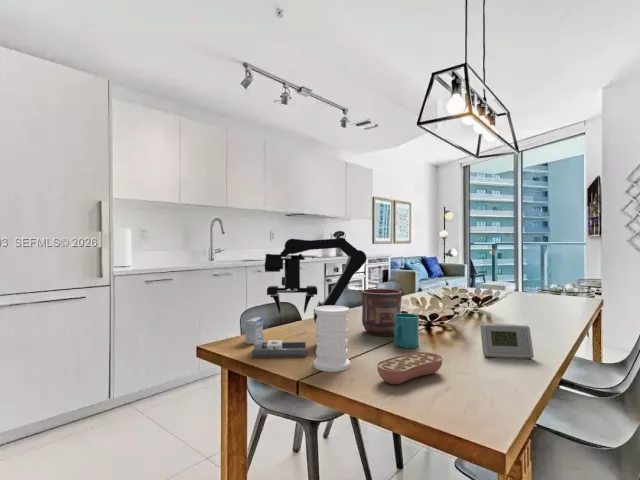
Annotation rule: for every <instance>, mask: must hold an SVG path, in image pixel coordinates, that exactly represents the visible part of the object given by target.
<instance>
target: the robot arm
mask: <svg viewBox="0 0 640 480" xmlns="http://www.w3.org/2000/svg"><path fill="white" fill-rule="evenodd" d="M329 249H340V250H341V251H342V252H343V253H344V254H345V255H347V257H348V258H347V259H346V260H347V261H346V263H345V267H344V269H343V271H342V273H341V274H340V276H339V277H338V279H337V280H336V282H335V284H334V285H333V287H332V289H331V290H330V292H329V294H328V295H327V297H326V298H325V300H324V301H322V302H321V301H318V302H317V305H316V307H319V306H328V305H334V306H336V304H337V302H338V301H339V299H340V297H341V296H342V294H343V292H344V291H345V289H346V288H347V286H348V284H349V282H350V281H351V279H352V278H353V276H354V275H355V273H357V272H358V271H359V270H360V269H361V268H362V266H364V265H365V263H366V262H367V260H368V259H367V254H366V252H364V251H363V250H359V249H357V248H356V247H354V246H353V245H352V244H351V243H350V242H348V241H347V239H346V238H344V237H337V238H325V239H324V238H323V239H313V240H312V239H311V240H308V239H299V238H297V239H296V238H289V239H287V240H286V241H285V243H284V249H283V250H281V251H280V253H278V254H277V253H276V254H275V253H274V254H273V253H272V254H271V253H265V258H264V261H265V262H264V272H265V273H279V272H281V270H283V269H284V276H282V277H281V286H283V287H279V286H278V285H269V286H268V287H267V288H266V296H270V298H272V299H273V301H274V303H275V304H276V307H277V310H278V313H279V314H281V309H282V308H281V300H280V299H281V298H280V294H282V293H283V294H287V293H288V294H291V293H295V294H296V293H299V294H300V293H302V294H304V293H305V297H304V305H303V313H304V314H305V313H306V312H307V308H308V306H309V303H310V300H311V299H312V298H314V297H315V296H316V295H318V287H317V286H316V285H306V287H301V261H304V260H305V257H304V256H303V255H302V253H304V252H306V251H310V250H313V251H314V250H329ZM298 253H299V254H298ZM295 254H296V255H295ZM297 254H298V255H297ZM289 255H290V257H288V256H289ZM285 257H286V258H285ZM316 319H317V314H316V313H315V308H314V309H313V320H314V321H313V322H314V323H315V324H316Z"/></svg>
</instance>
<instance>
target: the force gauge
mask: <svg viewBox="0 0 640 480" xmlns="http://www.w3.org/2000/svg"><path fill="white" fill-rule="evenodd" d="M267 342H268V343H267V344H263V349H282V342H283V339H280V340H279V339H278V340H277V339H275V340H273V339H272V340H270V339H268V341H267Z"/></svg>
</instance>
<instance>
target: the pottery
mask: <svg viewBox="0 0 640 480" xmlns="http://www.w3.org/2000/svg"><path fill="white" fill-rule="evenodd" d="M402 297H403V292H402V291H401V290H400V289H399V290H398V289H391V288H368V289H367V288H366V289H362V290H361V302H362V303H361V306H362V311H361V322H362V326H363V328H364V330H365V331H366V332H367V334H370V335H372V336H377V337H388V336H394V315H395V314H399V313H402V299H403V298H402Z"/></svg>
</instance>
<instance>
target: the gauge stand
mask: <svg viewBox="0 0 640 480" xmlns="http://www.w3.org/2000/svg"><path fill="white" fill-rule="evenodd" d="M264 339H265V338H263V339H257V340H256V342H255V344H253V349H252V350H251V352H252V353H251V354H252V355H251V358H252V359H255V358H258V359H260V358H307V348H306V347H307V346H306V345H307V344H306V343H307V342H306V341H282V349H263V344H267V343H268V341H265V340H264Z"/></svg>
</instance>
